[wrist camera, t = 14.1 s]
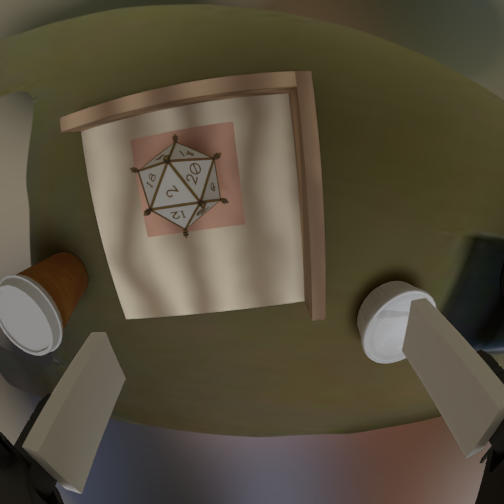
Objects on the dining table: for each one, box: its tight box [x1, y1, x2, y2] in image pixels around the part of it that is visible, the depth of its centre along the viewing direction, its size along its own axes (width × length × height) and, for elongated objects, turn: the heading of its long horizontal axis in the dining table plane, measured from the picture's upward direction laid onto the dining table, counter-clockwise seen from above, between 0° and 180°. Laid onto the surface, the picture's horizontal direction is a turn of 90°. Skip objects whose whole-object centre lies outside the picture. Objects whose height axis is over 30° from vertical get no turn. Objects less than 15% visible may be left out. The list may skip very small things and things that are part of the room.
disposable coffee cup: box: [0, 252, 88, 355], centre depth 29 cm, size 10×10×12 cm
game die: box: [130, 133, 229, 239], centre depth 27 cm, size 9×8×10 cm
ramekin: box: [357, 281, 437, 363], centre depth 36 cm, size 11×11×5 cm
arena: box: [60, 71, 326, 321], centre depth 30 cm, size 24×26×5 cm
